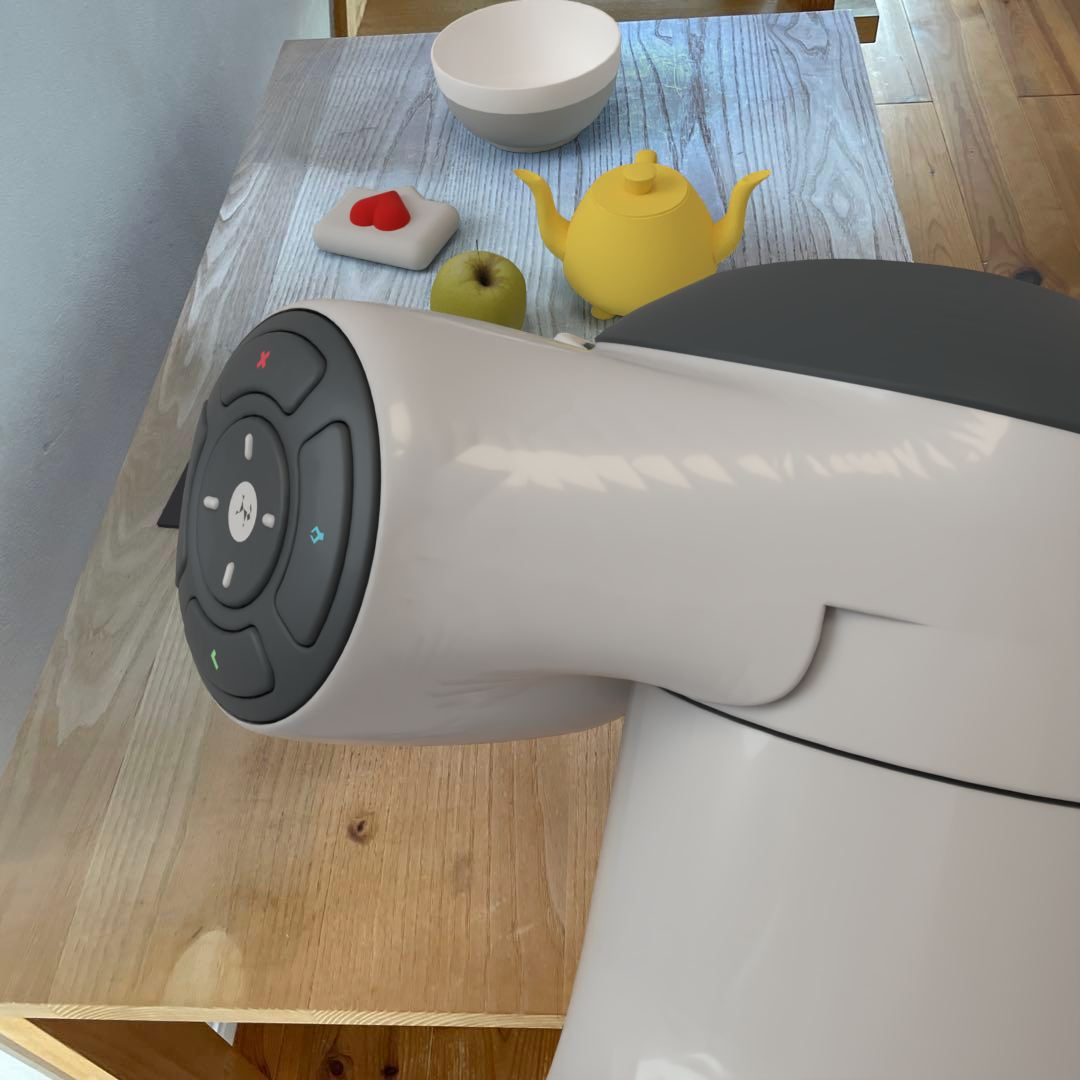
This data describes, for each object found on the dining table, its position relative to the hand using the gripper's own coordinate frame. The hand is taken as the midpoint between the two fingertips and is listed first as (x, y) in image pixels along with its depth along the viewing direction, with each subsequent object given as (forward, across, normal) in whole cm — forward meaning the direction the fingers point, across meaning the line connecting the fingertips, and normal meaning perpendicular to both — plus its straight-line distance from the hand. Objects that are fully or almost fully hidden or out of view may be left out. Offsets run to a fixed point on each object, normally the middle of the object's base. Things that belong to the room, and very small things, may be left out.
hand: (855, 572), depth 40 cm
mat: (+6, +44, +24) cm, 50 cm away
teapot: (+33, +40, -3) cm, 52 cm away
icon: (+26, +62, +5) cm, 67 cm away
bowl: (+41, +67, -11) cm, 79 cm away
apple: (+23, +43, +7) cm, 49 cm away
